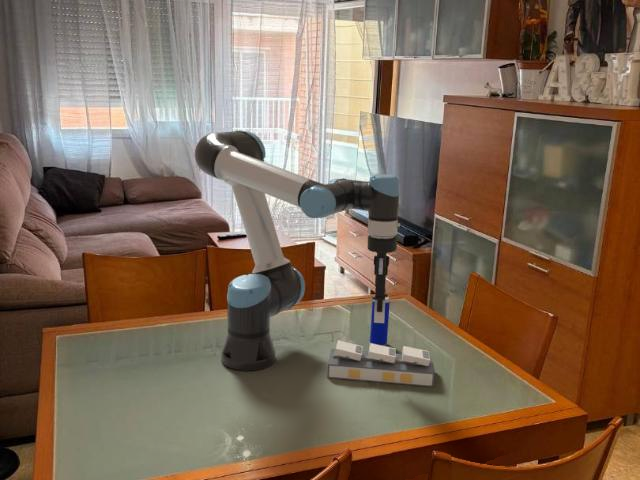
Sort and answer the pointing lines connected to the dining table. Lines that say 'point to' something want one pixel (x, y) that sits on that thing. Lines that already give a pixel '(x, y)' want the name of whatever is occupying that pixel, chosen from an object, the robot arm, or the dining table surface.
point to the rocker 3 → (415, 356)
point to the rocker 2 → (382, 353)
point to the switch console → (380, 370)
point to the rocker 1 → (348, 350)
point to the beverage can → (379, 326)
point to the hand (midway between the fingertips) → (379, 321)
